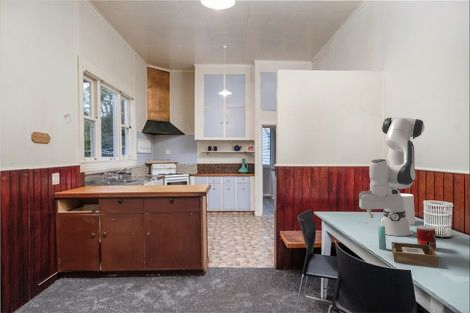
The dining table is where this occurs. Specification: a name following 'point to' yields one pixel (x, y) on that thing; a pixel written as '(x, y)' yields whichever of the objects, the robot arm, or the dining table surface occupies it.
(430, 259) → the box
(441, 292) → the dining table surface
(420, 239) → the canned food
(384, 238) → the peg
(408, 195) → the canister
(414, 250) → the plate
